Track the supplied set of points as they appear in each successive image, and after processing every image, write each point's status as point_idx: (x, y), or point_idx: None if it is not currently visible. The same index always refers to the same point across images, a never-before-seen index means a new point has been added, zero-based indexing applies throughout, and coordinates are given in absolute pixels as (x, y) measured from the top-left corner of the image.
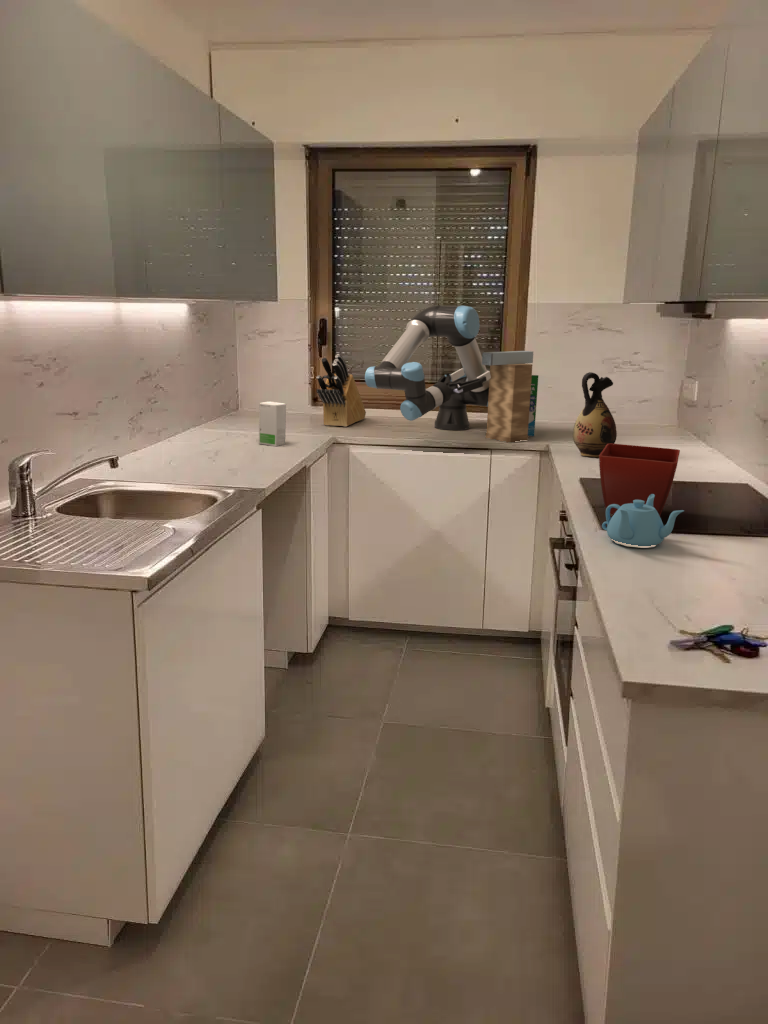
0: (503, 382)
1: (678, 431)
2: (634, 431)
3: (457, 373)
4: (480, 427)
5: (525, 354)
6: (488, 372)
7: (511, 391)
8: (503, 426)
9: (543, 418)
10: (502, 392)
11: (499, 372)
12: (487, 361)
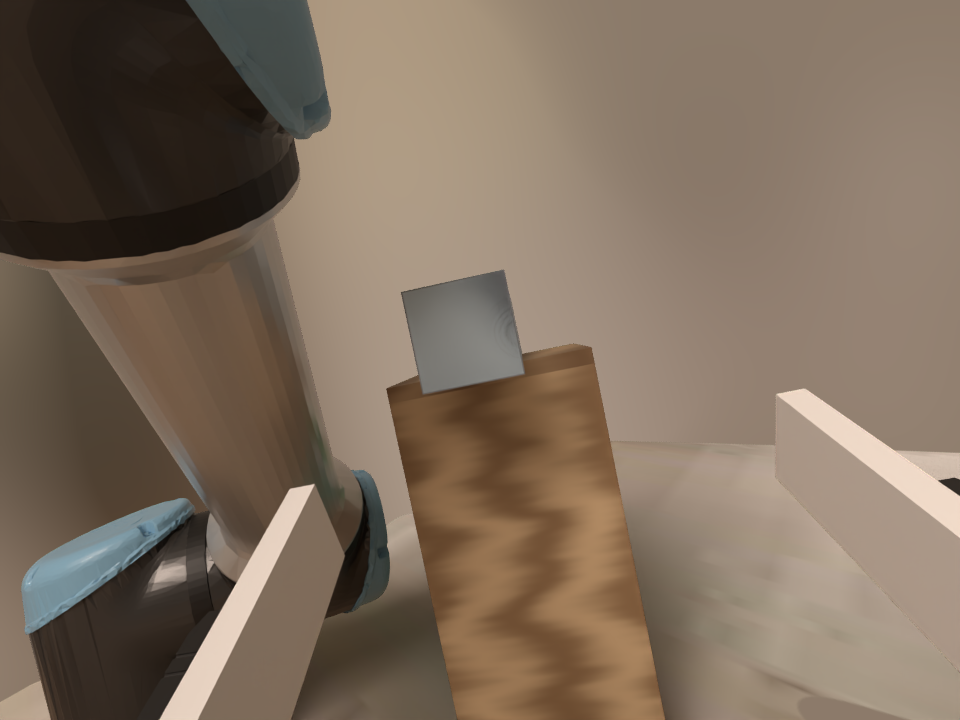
0: (526, 474)
1: (654, 445)
2: (624, 475)
3: (277, 603)
4: (304, 689)
5: (513, 312)
6: (824, 409)
7: (607, 509)
8: None
9: (391, 525)
10: (535, 536)
11: (476, 425)
12: (480, 350)
